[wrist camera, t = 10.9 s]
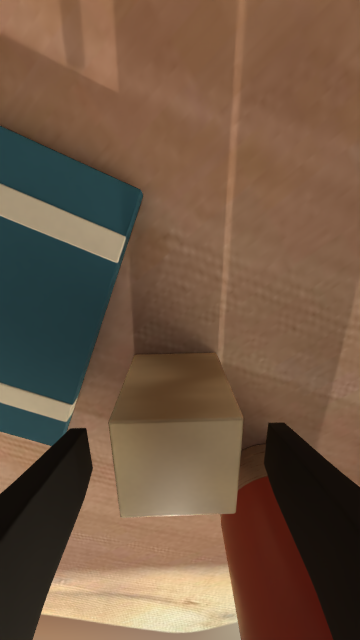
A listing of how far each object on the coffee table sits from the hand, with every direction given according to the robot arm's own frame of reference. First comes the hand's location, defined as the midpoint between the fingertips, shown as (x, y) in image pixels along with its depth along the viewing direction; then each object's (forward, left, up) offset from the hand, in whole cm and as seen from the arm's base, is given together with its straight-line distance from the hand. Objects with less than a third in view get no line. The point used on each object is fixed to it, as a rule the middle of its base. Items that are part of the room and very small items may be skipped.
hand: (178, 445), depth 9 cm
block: (0, 0, -4) cm, 4 cm away
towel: (+9, -1, -4) cm, 10 cm away
